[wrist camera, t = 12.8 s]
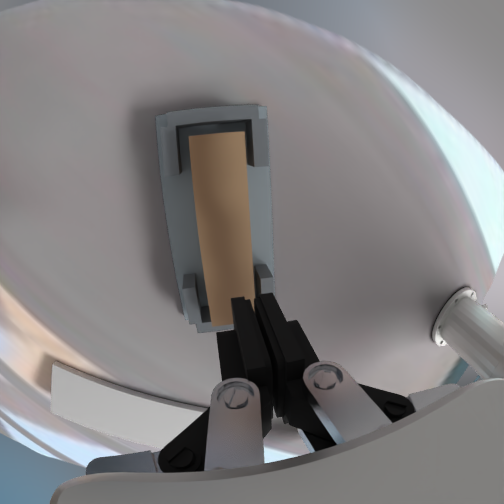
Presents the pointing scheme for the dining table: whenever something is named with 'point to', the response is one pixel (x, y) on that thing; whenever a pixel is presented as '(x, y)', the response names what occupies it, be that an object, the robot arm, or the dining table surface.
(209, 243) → the slat
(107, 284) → the dining table surface
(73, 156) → the dining table surface
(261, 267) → the board
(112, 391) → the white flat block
